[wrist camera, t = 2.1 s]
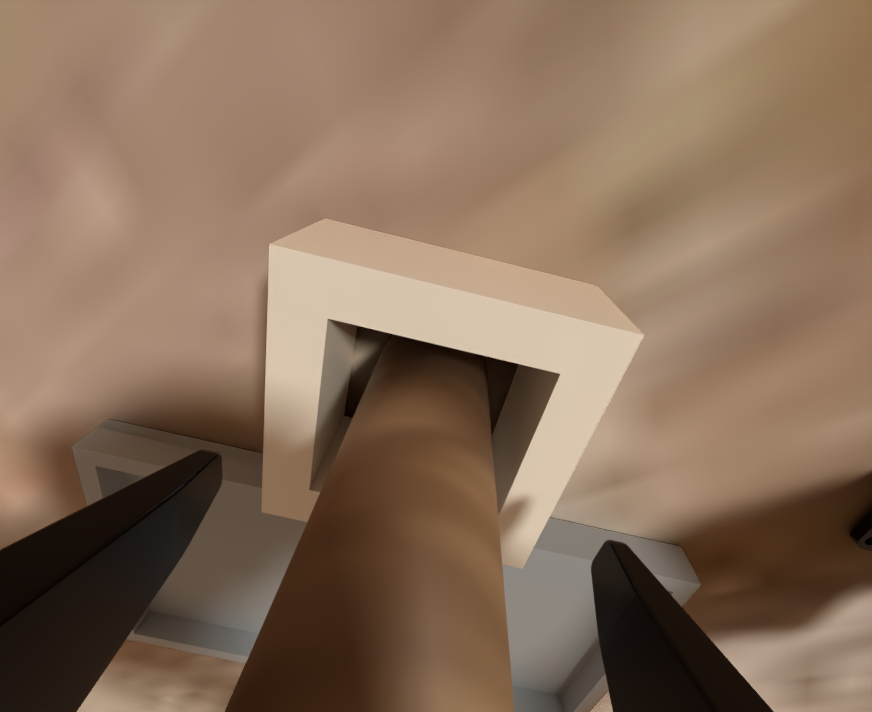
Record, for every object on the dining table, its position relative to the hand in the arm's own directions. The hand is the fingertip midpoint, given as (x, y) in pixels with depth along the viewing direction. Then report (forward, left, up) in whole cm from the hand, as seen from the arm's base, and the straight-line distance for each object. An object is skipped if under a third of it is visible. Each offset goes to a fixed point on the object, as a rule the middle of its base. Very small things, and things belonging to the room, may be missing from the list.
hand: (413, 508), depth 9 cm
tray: (0, +13, -6) cm, 15 cm away
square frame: (0, 0, -6) cm, 7 cm away
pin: (0, 0, -6) cm, 7 cm away
